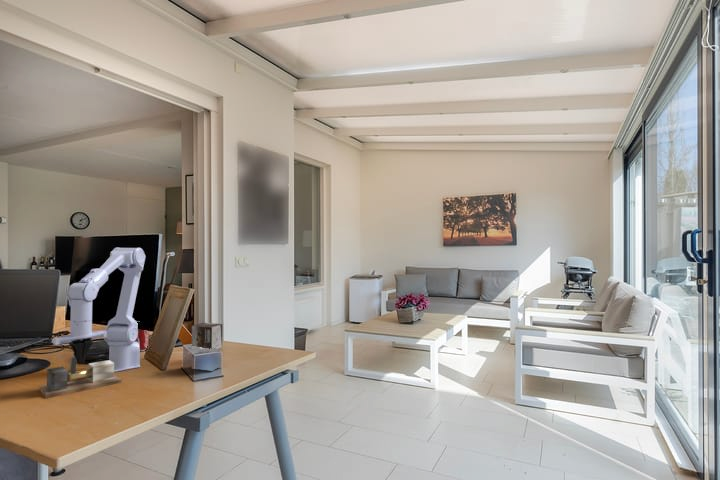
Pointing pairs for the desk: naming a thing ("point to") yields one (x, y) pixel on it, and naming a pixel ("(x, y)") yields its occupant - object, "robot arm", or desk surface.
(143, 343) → the soda can
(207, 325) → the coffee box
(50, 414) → the desk surface
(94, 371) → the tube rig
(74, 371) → the slip tube
